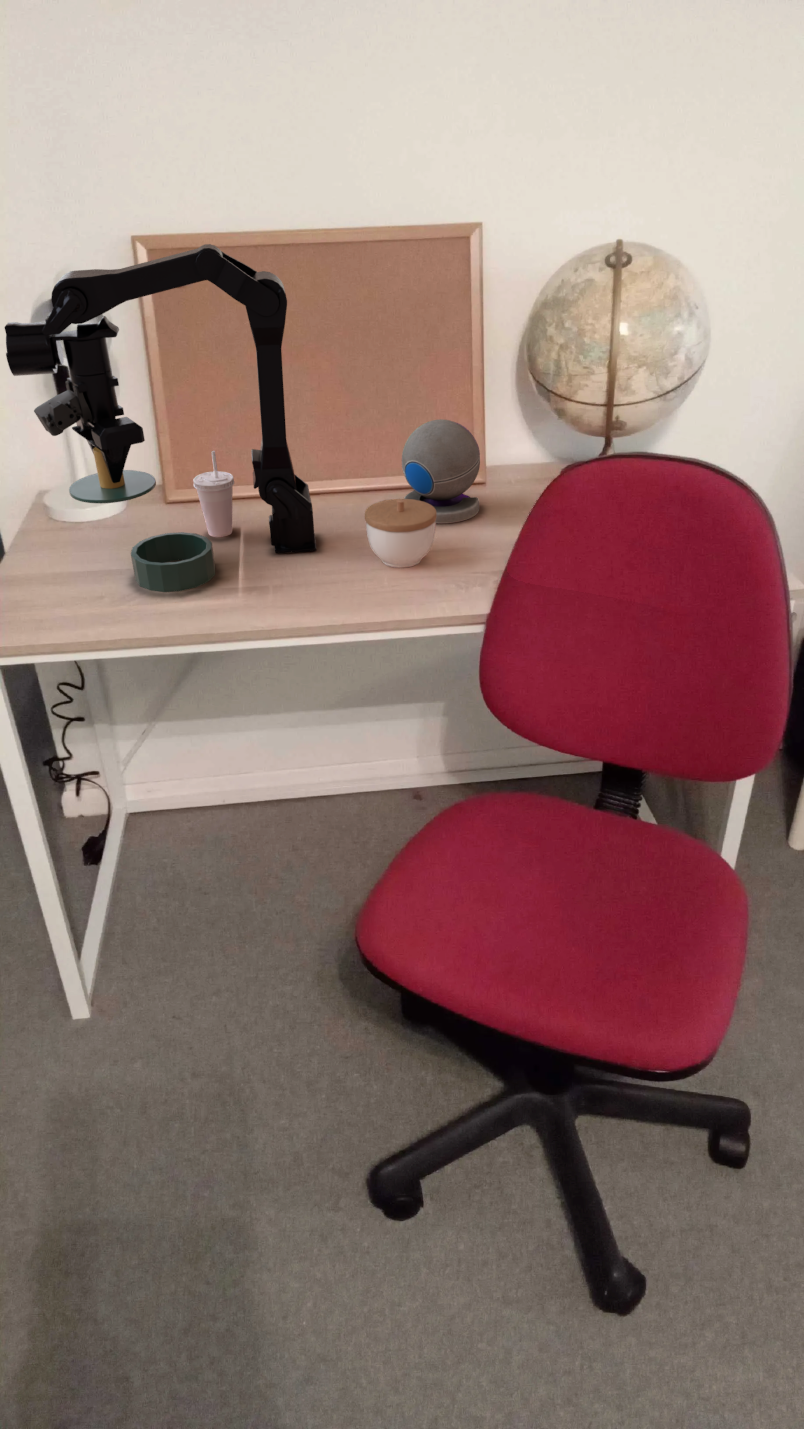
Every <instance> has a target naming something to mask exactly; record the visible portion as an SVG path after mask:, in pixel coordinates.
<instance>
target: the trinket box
mask: <svg viewBox="0 0 804 1429" xmlns="http://www.w3.org/2000/svg"><path fill="white" fill-rule="evenodd" d="M364 521H365V529H366V537H367V541H368V545H369V546H370V549H371V550H372V552H373V553H374V555H375V556H376V557H377V558H378V559H380V560H381V562H382V563H383V565H385V566H388V567H392V568H397V569H398V568H399V569H401V568H402V569H404V568H405V569H406V568H411V567H414V566H417V565H418V564H420V563H421V561H422V559H424V557H425V556H426V555H428V553H429V552H430V550H431V548H432V546H433V544H434V541H435V537H436V525H437V523H436V509H435V508H434V507H433V506H432V505H430V504H428V503H426V502H423V501H419V500H413V499H404V498H393V499H385V500H381V501H378V502H375V503H373V504H371V505H369V506H368V507H367V508H366V509H365V511H364Z"/></svg>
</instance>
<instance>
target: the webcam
mask: <svg viewBox="0 0 804 1429" xmlns="http://www.w3.org/2000/svg"><path fill="white" fill-rule="evenodd" d="M480 452H481V451H480V447H479V444H478V442H477V440H476V438H475V436H474V435H473V434H472V432H470V430H469V429H467V427H465V426H464V425H462V424H461V423H458V422H456V421H453V420H451V419H450V420H449V419H440V418H439V419H432V420H429V421H427V422H425V423H422V424H421V425H419V426H418V427H417V428H415V429H414V430H413V431H412V432H411V433H410V435H409V436H408V438H407V440H406V441H405V444H404V447H403V449H402V454H401V469H402V472H403V476H404V478H405V480H406V482H407V483H408V485H409V487H410V488H412V489H413V490H412V491H410V492H408V493H407V494H406V495H405V496H404V498H403V499H413V500H419V501H423V502H426V503H428V504H430V505H432V506H433V507H434V508H435V509H436V524H452V523H453V524H454V523H459V522H462V521H466V520H468V519H469V520H470V519H472V518H473V517H474V516H476V515H477V514H478V513H479V511H480V500H479V498H478V497H475V496H474V497H473V496H472V497H471V496H469V495H467V494H465V492H466V491H468V490H469V489H470V488H471V486H472V485H473V484H474V483H475V481H476V479H477V477H478V475H479V471H480V468H481V453H480Z"/></svg>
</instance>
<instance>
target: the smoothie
mask: <svg viewBox="0 0 804 1429" xmlns="http://www.w3.org/2000/svg"><path fill="white" fill-rule="evenodd" d="M210 453H211V460H212V467H213V471H207V472H202V473H200V474H197V475H196V476H195V477H193V479H192V483H193V488H194V489H196V492H197V496H198V500H199V504H200V508H201V512H202V515H203V518H204V522H205V526H206V529H207V533H208V535H209V536H211V537H213V538H223V537H227V536H230V535H231V534H232V533H233V497H234V496H233V492H234V491H233V489H234V488H233V487H234V485H235V479H234V477H235V476H234V475H233V474H231V473H230V472H227V471H221V470H218V464H217V456H216V455H217V454H216V450H212V451H211V452H210Z"/></svg>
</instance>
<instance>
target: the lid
mask: <svg viewBox="0 0 804 1429" xmlns="http://www.w3.org/2000/svg"><path fill="white" fill-rule="evenodd" d="M93 453H94V454H93ZM92 454H93V459H94V462H95V468H96V471H97V473H93V474H89V475H86V476H84V477H81V478H79V479H77V480H76V481H73V483H71V485H70V486H69V488H68V492H69V495H70V497H71V498H73V499H74V500H76V501H78V502H82V503H87V504H115V503H121V502H125V501H130V500H134V499H137V498H140V497H142V496H145V495H147V494H149V493H150V492H151V491H153V490H154V489H155V488H156V485H157V480H156V478H155V476H153V475H152V474H150V473H148V472H146V471H141V470H134V469H133V470H132V469H124V470H123V473H122V477H121V480H120V482H117V483H113V482H112V480H111V478H110V475H109V473H108V470H107V467H106V464H105V461H104V459H103V456H102V453H101V451H100V450H99V449H98V448H96V447H95V448H94V449H93V452H92Z"/></svg>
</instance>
